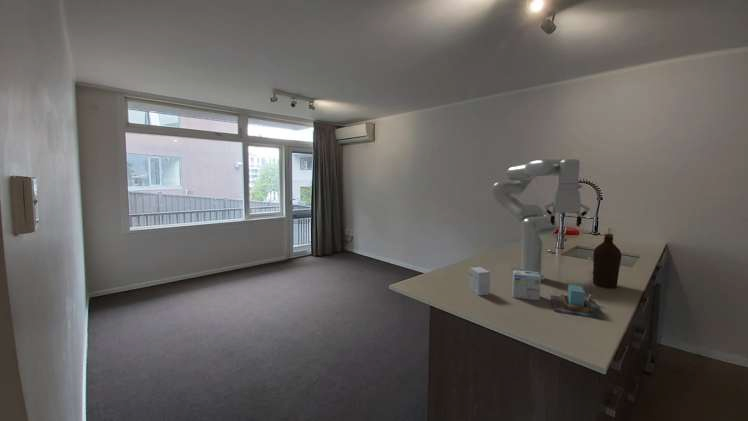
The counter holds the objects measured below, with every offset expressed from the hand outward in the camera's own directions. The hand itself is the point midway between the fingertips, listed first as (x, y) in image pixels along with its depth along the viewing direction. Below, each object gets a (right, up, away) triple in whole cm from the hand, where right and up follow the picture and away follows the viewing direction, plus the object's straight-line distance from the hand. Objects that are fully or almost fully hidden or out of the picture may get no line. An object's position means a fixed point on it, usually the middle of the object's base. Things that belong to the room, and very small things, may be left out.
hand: (565, 225), depth 140 cm
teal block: (-5, -32, -15) cm, 35 cm away
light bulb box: (-20, -31, -4) cm, 37 cm away
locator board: (-5, -32, -15) cm, 36 cm away
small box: (-38, -31, +1) cm, 49 cm away
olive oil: (+25, -30, +10) cm, 40 cm away
